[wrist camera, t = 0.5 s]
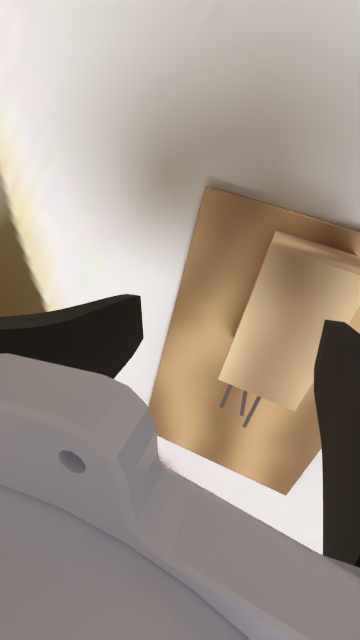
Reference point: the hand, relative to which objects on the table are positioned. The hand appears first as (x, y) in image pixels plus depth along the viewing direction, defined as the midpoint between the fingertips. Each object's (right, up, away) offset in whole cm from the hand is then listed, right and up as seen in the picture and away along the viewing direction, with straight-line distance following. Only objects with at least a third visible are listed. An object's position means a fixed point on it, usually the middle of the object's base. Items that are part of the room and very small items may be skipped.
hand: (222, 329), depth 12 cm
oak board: (+4, -3, +11) cm, 12 cm away
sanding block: (+5, +2, +7) cm, 9 cm away
